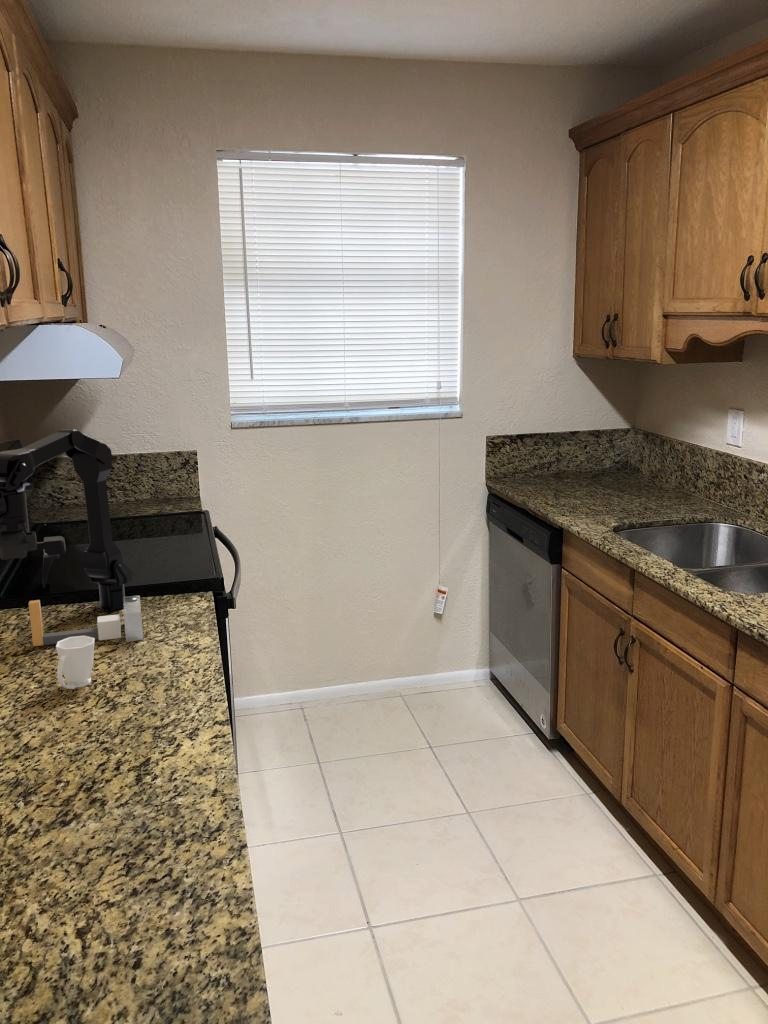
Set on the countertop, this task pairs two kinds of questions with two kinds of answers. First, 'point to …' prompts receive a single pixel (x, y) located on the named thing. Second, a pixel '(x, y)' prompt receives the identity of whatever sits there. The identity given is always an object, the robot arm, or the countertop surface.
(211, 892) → the countertop surface
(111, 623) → the multicoloured u-shaped piece
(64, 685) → the cup
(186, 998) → the countertop surface
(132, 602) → the housing
